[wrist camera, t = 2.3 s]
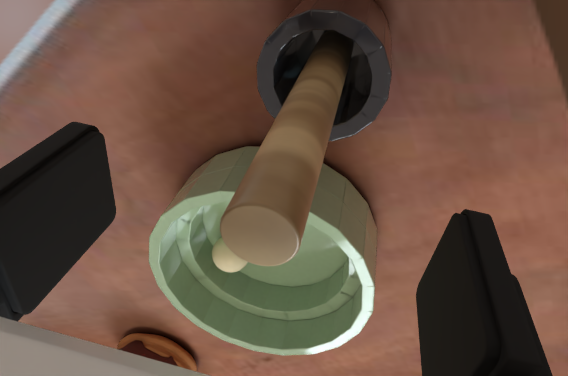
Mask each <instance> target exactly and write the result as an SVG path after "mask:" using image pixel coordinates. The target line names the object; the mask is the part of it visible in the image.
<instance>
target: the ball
mask: <svg viewBox="0 0 568 376" xmlns="http://www.w3.org/2000/svg"><path fill="white" fill-rule="evenodd" d="M212 258H213V261H214V263H215V265H216V266H217V267H218V268H219V269H221V270H222V271H225V272H230V273H232V272H237V271H239V270H241V269H242V268H244V267H245V266H246V264H247V263H248V262H247V261H245V260H243V259H241V258H239V257H238V256H237V255H235V254H234V253H233V252H232V251H231V250H230V249H229V248H228V247H227V246H226V244H225V243H224V241H223V239H222V237H221V238H219V239H218V240H217V241H216V243H215V244H214V246H213V250H212Z"/></svg>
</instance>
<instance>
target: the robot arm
mask: <svg viewBox="0 0 568 376" xmlns="http://www.w3.org/2000/svg"><path fill="white" fill-rule="evenodd" d="M115 215H116V206H115V200H114V194H113V188H112V182H111V176H110V169H109V163H108V157H107V151H106V145H105V139H104V136H103V134H101V133H99V130H98V128H97V127H95V126H92V125H87V124H83V123H78V122H71V123H69V124H68V125H66V126H65V127H63V128H62V129H60V130H59V131H57V132H56V133H54V134H53V135H51V136H50V137H48V138H46V139H45V140H43V141H42V142H40V143H39V144H37V145H36V146H34V147H33V148H31V149H30V150H28V151H27V152H25V153H24V154H22V155H21V156H19V157H18V158H16V159H15V160H13V161H11V162H10V163H8V164H7V165H5V166H4V167H2V168H1V169H0V376H210V375H206V374H203V373H199V372H196V371H192V370H189V369H185V368H182V367H178V366H175V365H171V364H168V363H164V362H160V361H157V360H153V359H150V358H146V357H143V356H139V355H136V354H132V353H129V352H125V351H121V350H118V349H114V348H111V347H107V346H104V345H100V344H97V343H93V342H90V341H86V340H82V339H79V338H75V337H71V336H68V335H64V334H61V333H57V332H53V331H50V330H46V329H43V328H39V327H35V326H32V325H28V324H25V323H21V322H18V321H19V320H20V318H21V317H22V316H23V315H24V314H25V315H26V314H29V313H31V312H32V311H33V310H34V309H35V308H36V307H37V306H38V305H39V303H40V302H41V301H42V300H43V299H44V298H45V297H46V296H47V294H48V293H49V292H50V291H51V290H52V289H53V288H54V287H55V285H56V284H57V283H58V282H59V281H60V280H61V279H62V278H63V277H64V275H65V274H66V273H67V272H68V271H69V270H70V269H71V268H72V266H73V265H74V264H75V263H76V262H77V261H78V260H79V259H80V258H81V256H82V255H83V254H84V253H85V252H86V251H87V250H88V249H89V247H90V246H91V245H92V244H93V243H94V242H95V241H96V240H97V238H98V237H99V236H100V235H101V234H102V233H103V232H104V231H105V230H106V228H107V227H108V226H109V225H110V224H111V223H112V221H113V220H114V218H115ZM416 301H417V314H418V327H419V340H420V353H421V366H422V376H552V373H551V370H550V367H549V365H548V362H547V359H546V356H545V353H544V351H543V348H542V345H541V342H540V340H539V337H538V334H537V331H536V328H535V326H534V323H533V320H532V317H531V315H530V312H529V309H528V306H527V303H526V301H525V298H524V295H523V292H522V290H521V287H520V284H519V282H518V280H517V278H516V277H515V276H514V275H512V274H511V272H510V269H509V266H508V263H507V261H506V258H505V255H504V252H503V249H502V246H501V243H500V240H499V238H498V235H497V232H496V229H495V226H494V223H493V220H492V218H491V216H490V215H489V214H485V213H480V212H476V211H471V210H467V209H465V210H463V211H462V212H461V214H458V213H455V214H454V215H453V216H452V217H451V219H450V221H449V223H448V226H447V228H446V230H445V232H444V234H443V236H442V238H441V240H440V242H439V244H438V246H437V248H436V250H435V252H434V254H433V256H432V258H431V260H430V262H429V264H428V266H427V268H426V270H425V272H424V274H423V276H422V278H421V280H420V282H419V285H418V288H417V293H416Z"/></svg>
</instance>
